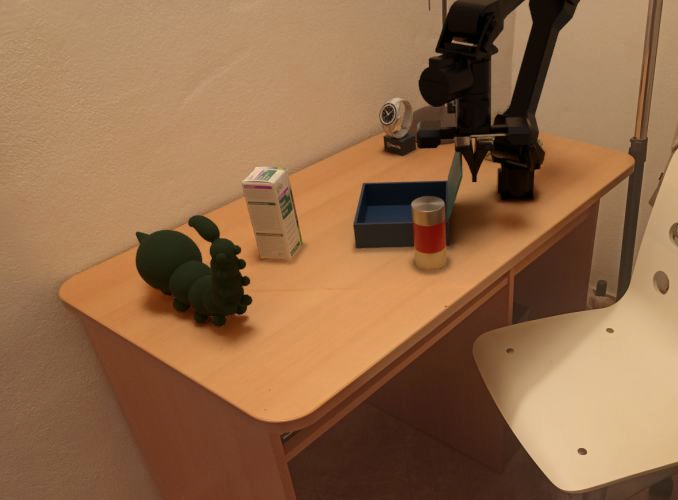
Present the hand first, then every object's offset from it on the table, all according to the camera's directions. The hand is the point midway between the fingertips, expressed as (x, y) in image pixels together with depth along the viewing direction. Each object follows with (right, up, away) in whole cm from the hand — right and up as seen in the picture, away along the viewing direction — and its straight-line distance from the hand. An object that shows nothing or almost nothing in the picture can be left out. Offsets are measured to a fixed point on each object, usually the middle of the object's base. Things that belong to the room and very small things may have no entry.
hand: (474, 181), depth 117 cm
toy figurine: (-43, -23, -12) cm, 50 cm away
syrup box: (-33, -12, 0) cm, 36 cm away
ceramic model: (+9, +13, +30) cm, 34 cm away
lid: (-4, +1, 0) cm, 4 cm away
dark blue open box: (-12, -7, +6) cm, 15 cm away
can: (-7, -15, -5) cm, 17 cm away
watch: (-15, +15, +33) cm, 39 cm away
